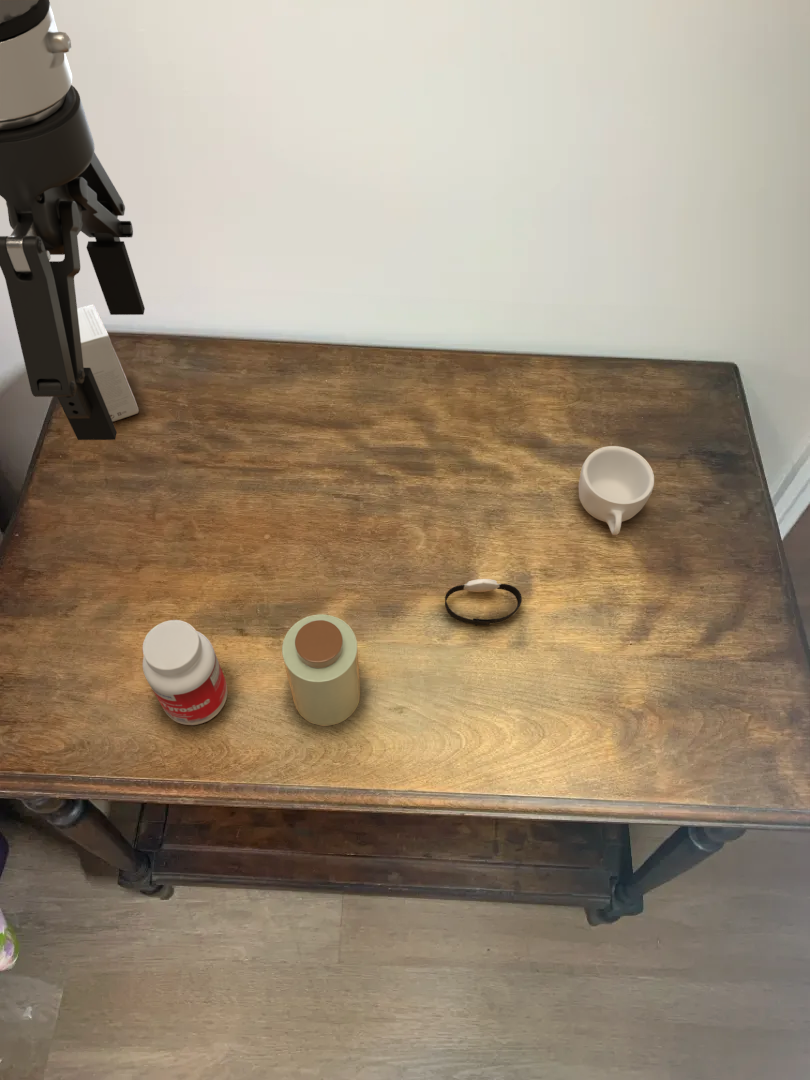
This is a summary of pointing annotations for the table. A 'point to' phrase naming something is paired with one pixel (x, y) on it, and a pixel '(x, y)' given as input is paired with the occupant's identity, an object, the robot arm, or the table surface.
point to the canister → (322, 669)
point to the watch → (483, 586)
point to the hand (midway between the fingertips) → (113, 370)
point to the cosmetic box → (105, 364)
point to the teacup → (615, 485)
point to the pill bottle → (184, 672)
